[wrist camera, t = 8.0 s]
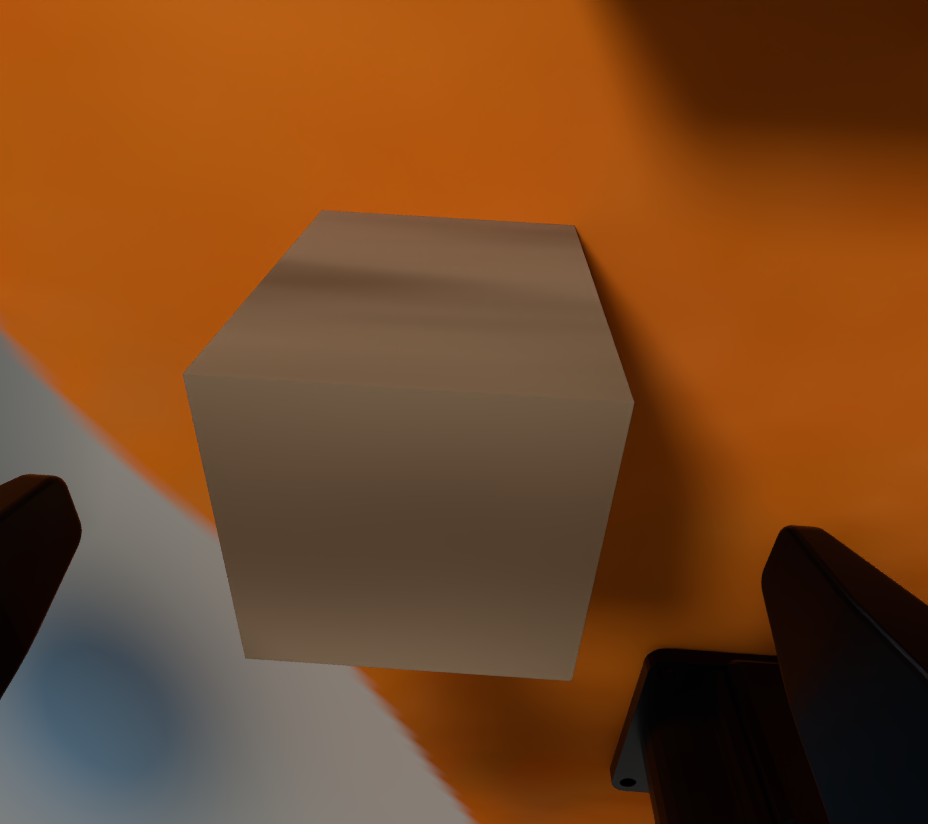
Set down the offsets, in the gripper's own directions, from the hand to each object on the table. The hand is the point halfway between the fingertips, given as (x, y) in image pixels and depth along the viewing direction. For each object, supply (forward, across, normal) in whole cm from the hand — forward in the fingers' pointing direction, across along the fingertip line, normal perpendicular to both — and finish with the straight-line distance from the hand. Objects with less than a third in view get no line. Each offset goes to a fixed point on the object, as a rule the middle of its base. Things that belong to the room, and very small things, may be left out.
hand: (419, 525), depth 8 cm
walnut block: (+5, 0, 0) cm, 5 cm away
